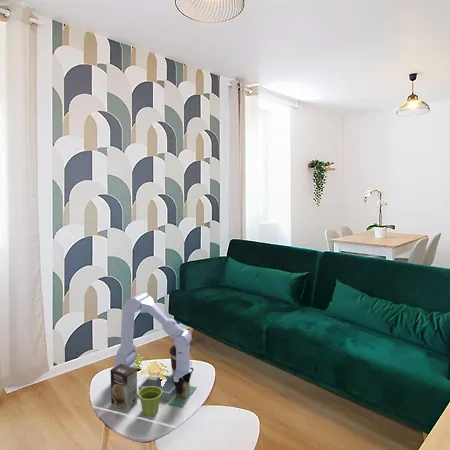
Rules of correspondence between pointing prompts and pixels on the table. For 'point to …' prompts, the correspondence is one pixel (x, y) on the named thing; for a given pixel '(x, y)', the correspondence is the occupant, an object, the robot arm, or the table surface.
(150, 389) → the plant pot
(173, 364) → the coffee cup
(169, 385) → the bin
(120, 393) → the coffee box
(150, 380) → the plain block
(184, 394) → the labelled block
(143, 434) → the table surface
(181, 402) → the mat
